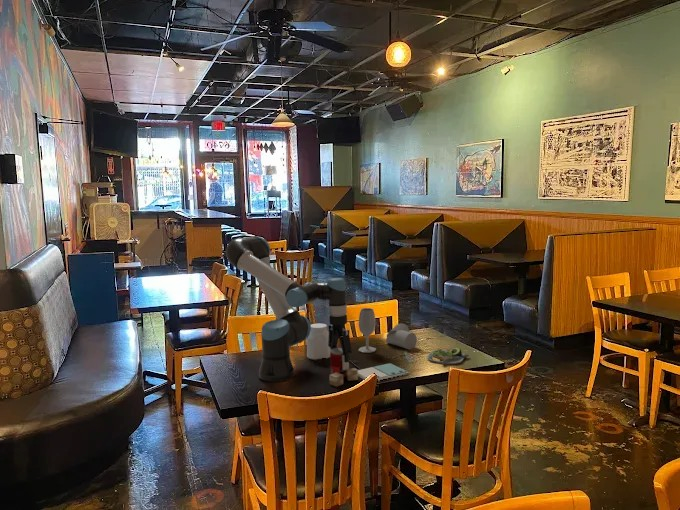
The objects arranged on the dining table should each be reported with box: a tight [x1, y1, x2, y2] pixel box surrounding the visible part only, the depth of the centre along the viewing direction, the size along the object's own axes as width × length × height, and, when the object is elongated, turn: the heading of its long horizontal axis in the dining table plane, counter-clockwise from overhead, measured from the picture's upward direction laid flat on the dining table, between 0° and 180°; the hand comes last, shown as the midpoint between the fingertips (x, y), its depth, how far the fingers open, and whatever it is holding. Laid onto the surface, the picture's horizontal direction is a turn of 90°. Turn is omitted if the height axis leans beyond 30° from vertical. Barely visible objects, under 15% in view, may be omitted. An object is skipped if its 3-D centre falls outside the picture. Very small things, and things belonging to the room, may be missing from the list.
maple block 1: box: [328, 373, 344, 388], centre depth 208 cm, size 4×4×4 cm
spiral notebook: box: [357, 362, 410, 382], centre depth 220 cm, size 20×14×1 cm
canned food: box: [329, 347, 347, 379], centre depth 218 cm, size 8×8×11 cm
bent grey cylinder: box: [385, 322, 418, 351], centre depth 263 cm, size 18×10×20 cm
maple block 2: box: [346, 367, 359, 381], centre depth 214 cm, size 4×4×4 cm
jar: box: [306, 323, 331, 360], centre depth 244 cm, size 12×10×15 cm
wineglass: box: [357, 307, 377, 354], centre depth 251 cm, size 9×9×21 cm
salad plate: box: [426, 346, 469, 365], centre depth 237 cm, size 19×18×5 cm
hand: (340, 366), depth 218 cm, fingers open, 8 cm apart
